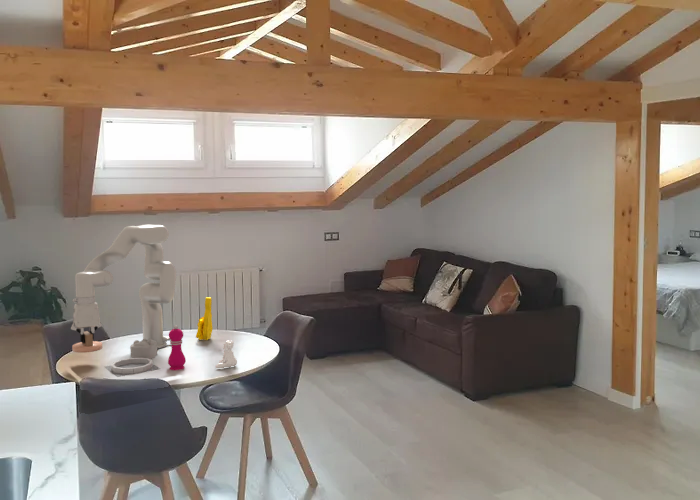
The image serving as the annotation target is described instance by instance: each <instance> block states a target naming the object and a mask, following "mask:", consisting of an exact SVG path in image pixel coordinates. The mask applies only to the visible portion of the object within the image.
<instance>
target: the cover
mask: <svg viewBox="0 0 700 500" xmlns="http://www.w3.org/2000/svg"><path fill="white" fill-rule="evenodd" d="M89 332H90V331H88V330H86V331H85V330H84V334H85V343H84V344H83V343H82V342H81V341H80V342H75V343H73V344H72V346H71V347H72V348H71V350H72V352H74V353H78V354H79V353H80V354H81V353H82V354H83V353H93V352H99V351H100V350H103V342H101V341H96V340H95V341H94V340H93V335H92V334H91V333H89Z"/></svg>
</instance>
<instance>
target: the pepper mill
mask: <svg viewBox="0 0 700 500" xmlns="http://www.w3.org/2000/svg"><path fill="white" fill-rule="evenodd" d="M168 337H169V338H170V339H171V340H170V341H169V342H170V343H169V344H170V346H171V350H170V354H169V356H168V360H167V364H168V366H169V370H171V371H181V370H184V369H185V368H186V367H185V363H186V360H187V359H186V356H185V355H184V352H183V349H182V344H183V338H184V331H183V330H182V329H180V328H179V326H178V325H177V324H175V325H174V326H173V329H171V330H170V331H169V332H168Z"/></svg>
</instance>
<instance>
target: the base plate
mask: <svg viewBox="0 0 700 500" xmlns="http://www.w3.org/2000/svg"><path fill="white" fill-rule="evenodd" d="M104 369H106V370H108V371H109V372H110V373H112V374H113V375H115V377H117V378H119V377H125V376H129V375H131V376H132V375H135V374H141V373H145V372H146V373H147V372H152V371H156V370H161V368H160V367H158V365H155V364H154V360H153V359H147V358H131V357H129V358H123V359H119V360H116V361H114V362H112V363H111V364H110V365H107V366H104Z"/></svg>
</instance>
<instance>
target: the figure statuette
mask: <svg viewBox="0 0 700 500" xmlns="http://www.w3.org/2000/svg"><path fill="white" fill-rule="evenodd" d="M204 299H205V300H204V314H203V316H202V317H200V318H199V319H198V320H197V321H198V322H197V331H196V335H195V338H196V339H198V341H209V340H210V339H211V338H212V333H213V327H214V326H213V320H212V319H213V317H212V316H213V313H212V304H213V303H212V302H213V301H212V300H213V299H212V297H210V296H209V297H208V296H207V297H205V298H204ZM208 339H209V340H208Z"/></svg>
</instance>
